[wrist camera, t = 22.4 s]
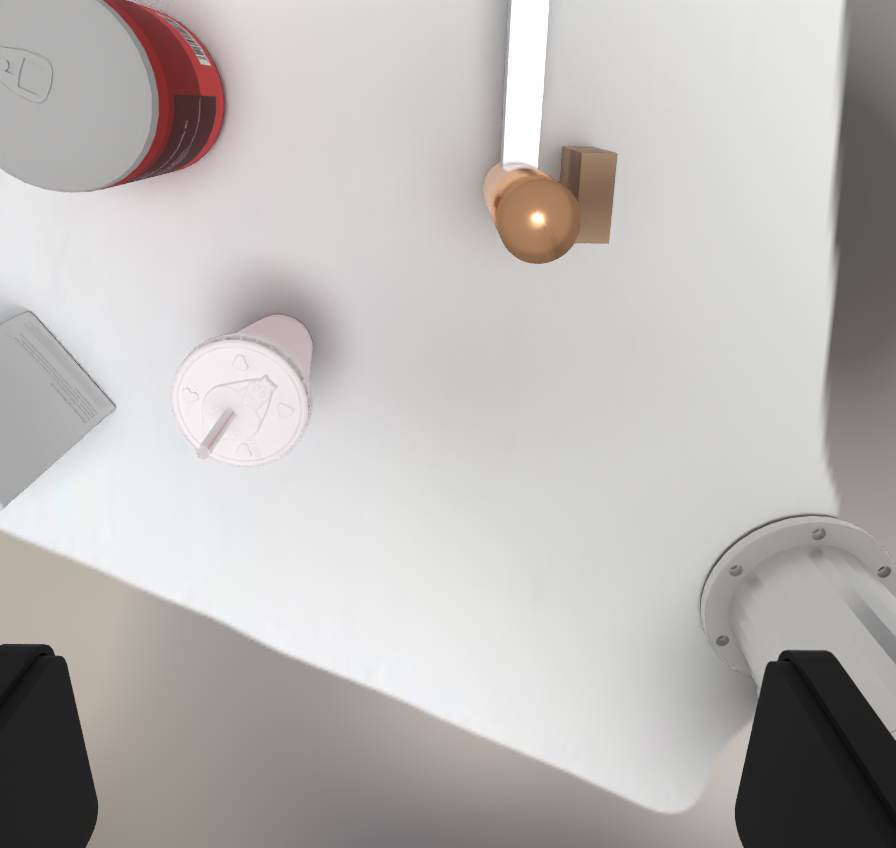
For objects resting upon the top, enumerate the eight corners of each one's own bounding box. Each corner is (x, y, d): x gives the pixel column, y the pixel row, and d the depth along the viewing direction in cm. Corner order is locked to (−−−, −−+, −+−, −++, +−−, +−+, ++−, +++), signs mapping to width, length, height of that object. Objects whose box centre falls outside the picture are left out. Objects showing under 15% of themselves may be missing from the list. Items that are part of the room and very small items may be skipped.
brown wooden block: (586, 225, 41) (608, 243, 36) (557, 224, 41) (574, 243, 36) (593, 147, 40) (617, 153, 34) (562, 146, 40) (581, 152, 34)
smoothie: (201, 336, 43) (99, 433, 31) (283, 267, 42) (212, 338, 29) (278, 417, 45) (212, 540, 33) (359, 354, 44) (324, 456, 31)
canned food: (67, -6, 37) (-76, -49, 27) (232, 23, 37) (154, -9, 27) (73, 158, 40) (-54, 176, 30) (226, 183, 40) (153, 209, 30)
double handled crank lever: (537, 218, 40) (577, 264, 28) (480, 217, 40) (496, 262, 28) (566, -179, 33) (633, -336, 22) (498, -182, 33) (528, -340, 21)
